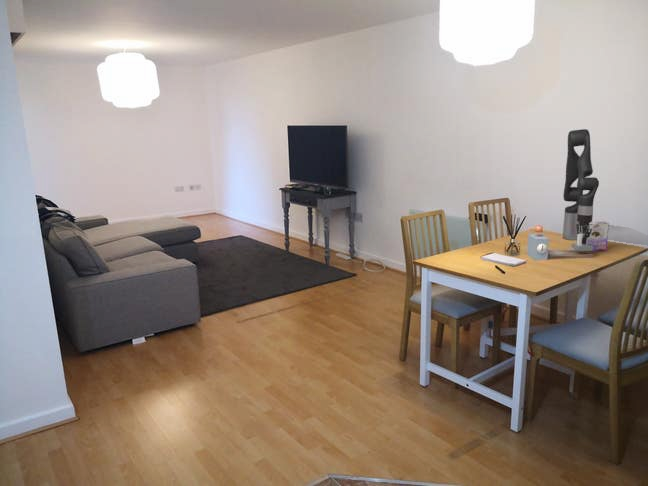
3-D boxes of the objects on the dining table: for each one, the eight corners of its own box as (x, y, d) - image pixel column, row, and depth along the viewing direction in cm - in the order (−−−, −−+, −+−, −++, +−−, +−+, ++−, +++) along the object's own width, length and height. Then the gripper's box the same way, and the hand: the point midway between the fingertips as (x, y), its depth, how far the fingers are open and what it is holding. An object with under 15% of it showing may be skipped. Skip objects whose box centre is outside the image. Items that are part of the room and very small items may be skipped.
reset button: (533, 230, 282) (533, 225, 281) (540, 230, 282) (541, 225, 281) (536, 232, 278) (536, 227, 277) (543, 232, 278) (543, 226, 277)
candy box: (602, 248, 296) (605, 221, 292) (606, 250, 290) (609, 223, 286) (578, 248, 298) (580, 221, 294) (581, 251, 292) (584, 223, 288)
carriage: (571, 247, 286) (572, 233, 284) (585, 247, 286) (586, 232, 283) (578, 251, 278) (579, 236, 276) (592, 250, 278) (594, 235, 276)
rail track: (540, 254, 288) (540, 248, 287) (586, 252, 287) (586, 247, 287) (547, 259, 278) (548, 253, 278) (594, 257, 278) (595, 251, 277)
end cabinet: (526, 254, 289) (527, 234, 286) (538, 253, 289) (540, 233, 286) (535, 260, 277) (536, 239, 274) (547, 259, 277) (549, 238, 274)
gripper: (572, 211, 284) (570, 240, 288) (584, 216, 270) (581, 246, 274) (585, 210, 283) (583, 240, 288) (598, 215, 270) (595, 246, 274)
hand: (582, 243), depth 281 cm, fingers closed on carriage, 2 cm apart
